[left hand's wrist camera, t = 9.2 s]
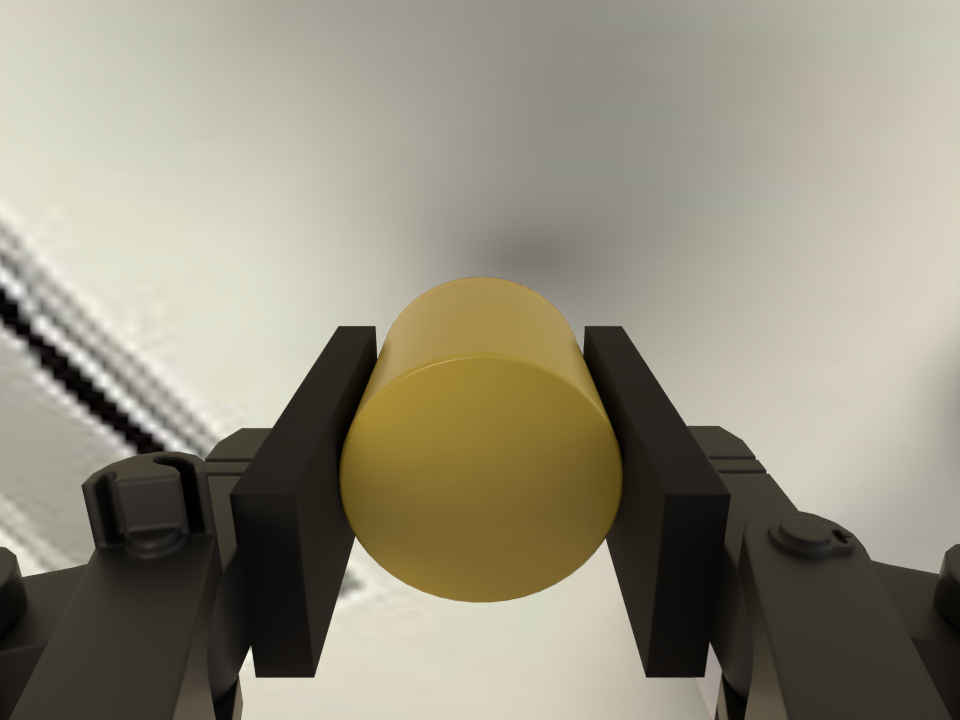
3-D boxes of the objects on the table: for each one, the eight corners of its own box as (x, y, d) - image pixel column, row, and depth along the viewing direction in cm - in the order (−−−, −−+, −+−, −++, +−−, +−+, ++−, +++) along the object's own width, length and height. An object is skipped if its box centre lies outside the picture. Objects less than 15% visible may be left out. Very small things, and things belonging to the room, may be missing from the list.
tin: (366, 445, 15) (321, 581, 11) (396, 257, 14) (358, 327, 9) (555, 478, 15) (584, 623, 11) (604, 297, 14) (660, 384, 10)
